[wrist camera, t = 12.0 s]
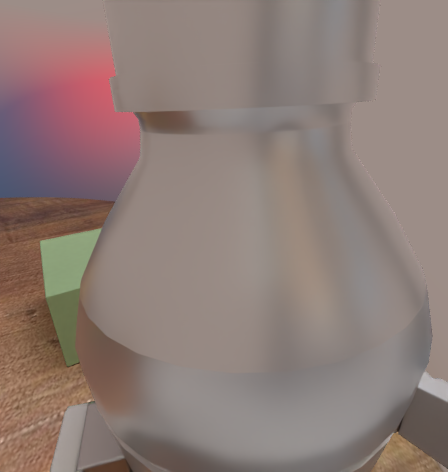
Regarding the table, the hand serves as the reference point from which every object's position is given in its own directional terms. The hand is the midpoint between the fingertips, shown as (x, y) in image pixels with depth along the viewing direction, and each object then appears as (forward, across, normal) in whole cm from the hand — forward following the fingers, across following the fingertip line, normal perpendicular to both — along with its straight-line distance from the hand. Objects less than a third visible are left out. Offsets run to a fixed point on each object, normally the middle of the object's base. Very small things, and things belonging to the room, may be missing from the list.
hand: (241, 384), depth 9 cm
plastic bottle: (-1, 0, +11) cm, 11 cm away
